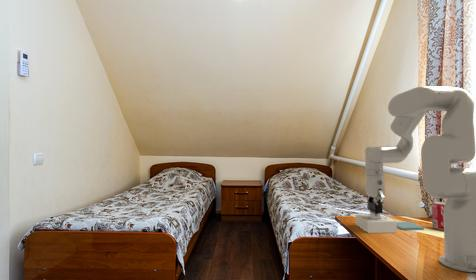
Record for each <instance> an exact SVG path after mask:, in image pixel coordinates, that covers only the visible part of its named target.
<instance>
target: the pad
mask: <svg viewBox="0 0 476 280" xmlns="http://www.w3.org/2000/svg"><path fill="white" fill-rule="evenodd" d="M397 229H399V230H401V231H424V229H425V227H424V226H421V225H418V224H416V223H414V222H412V221H397Z"/></svg>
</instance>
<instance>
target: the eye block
mask: <svg viewBox="0 0 476 280" xmlns="http://www.w3.org/2000/svg"><path fill="white" fill-rule="evenodd" d="M397 222H398V221H396V220H394V219H392V218H390V217H388V216H386V215H384V214H383V213H380V220H376V219H370V214H355V226H356V225H357V226H356V227H358V226H359V227H360V228H359V227H358V228H359V229H361V228H362V229H363V230H362V229H361V230H362V231H364V232H365V231H366V232H365V233H367V232H368V233H367V234H386V233H387V234H391V233H392V234H395V233H396V234H397V231H398V228H397Z"/></svg>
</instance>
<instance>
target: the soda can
mask: <svg viewBox="0 0 476 280" xmlns="http://www.w3.org/2000/svg"><path fill="white" fill-rule="evenodd" d="M445 202H446V201H433V204H432V205H431V218H432V219H431V220H432V221H431V222H432V227H433V228H434V229H435V230H439V231H444V205H445Z"/></svg>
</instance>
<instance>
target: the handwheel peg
mask: <svg viewBox="0 0 476 280" xmlns="http://www.w3.org/2000/svg"><path fill="white" fill-rule="evenodd" d="M366 202H367V203H366V204H367V205H366V206H367V207H366V208H367V210H369V215H370V219H376V220H380V214H381V213H375V204H376V202H368V201H366ZM382 211H383V206H382Z"/></svg>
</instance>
